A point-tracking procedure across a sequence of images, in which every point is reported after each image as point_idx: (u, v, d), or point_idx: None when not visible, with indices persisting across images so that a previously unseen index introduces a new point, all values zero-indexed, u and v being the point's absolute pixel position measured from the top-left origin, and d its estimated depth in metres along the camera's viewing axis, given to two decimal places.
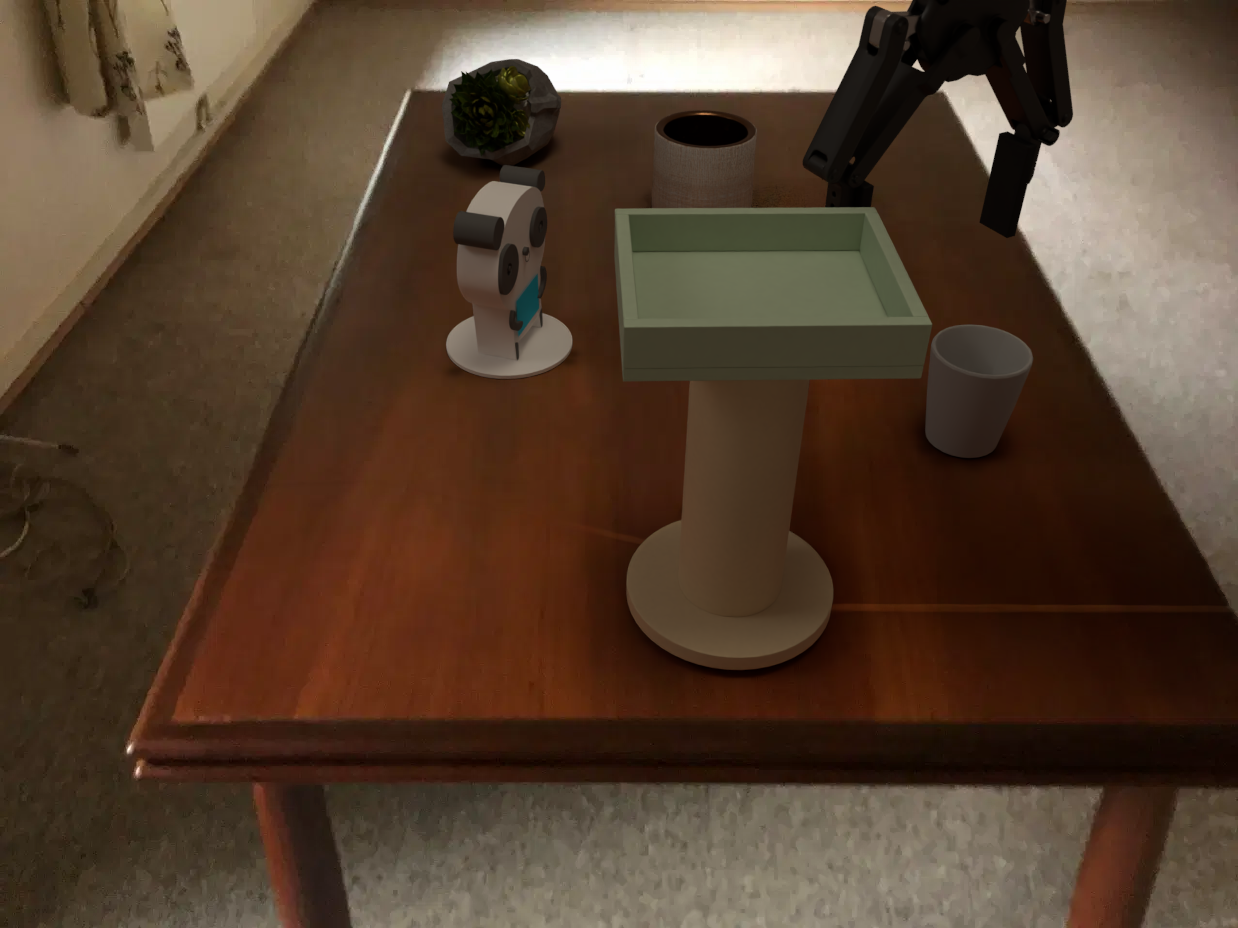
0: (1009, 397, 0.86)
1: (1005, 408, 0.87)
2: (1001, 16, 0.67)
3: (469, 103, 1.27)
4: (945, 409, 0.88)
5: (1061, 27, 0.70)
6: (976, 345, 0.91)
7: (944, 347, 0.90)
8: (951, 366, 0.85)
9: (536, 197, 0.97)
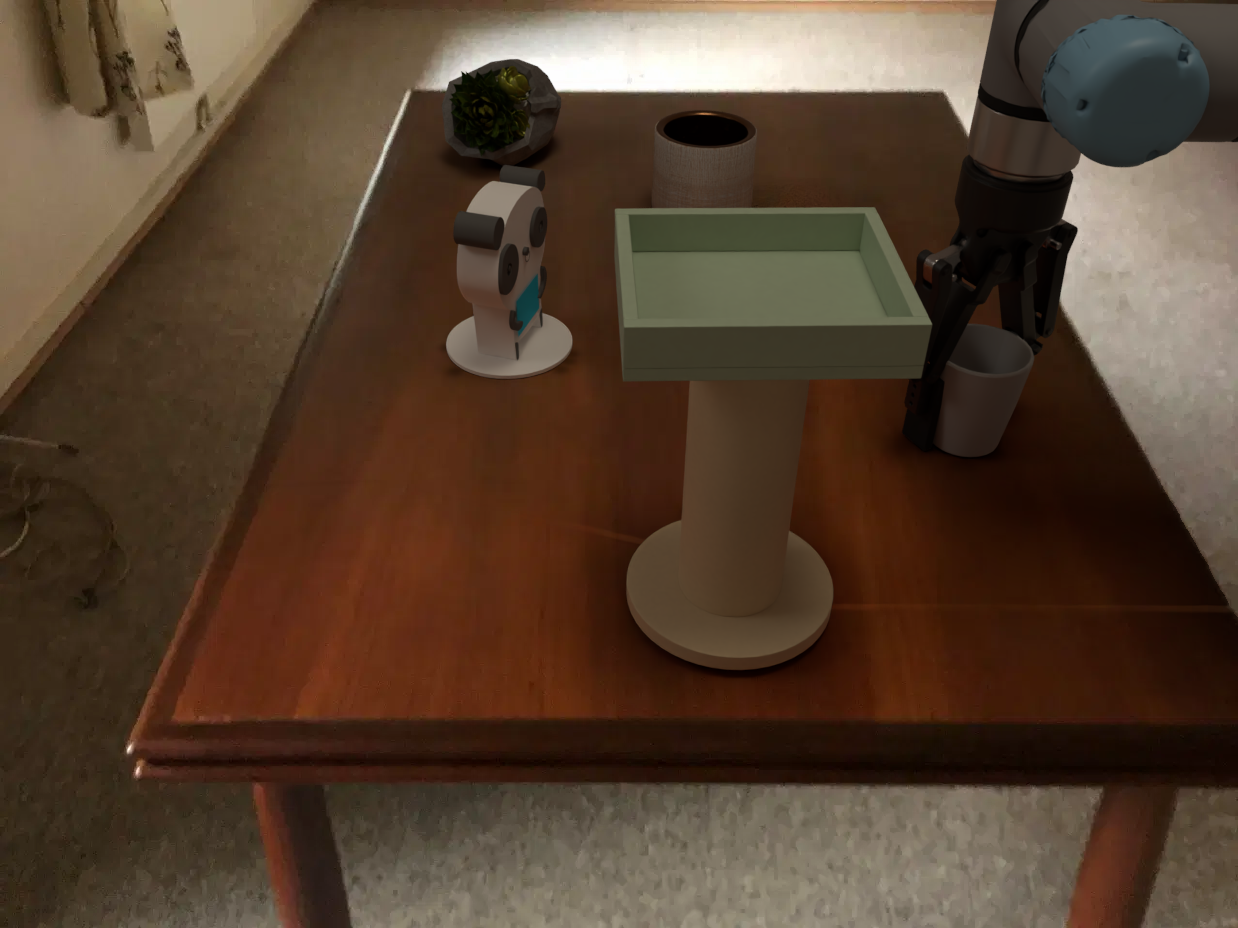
0: (1010, 396, 0.86)
1: (1006, 407, 0.87)
2: (1028, 239, 0.83)
3: (469, 103, 1.27)
4: (946, 408, 0.88)
5: (1066, 256, 0.86)
6: (977, 345, 0.91)
7: None
8: (952, 365, 0.85)
9: (536, 197, 0.97)
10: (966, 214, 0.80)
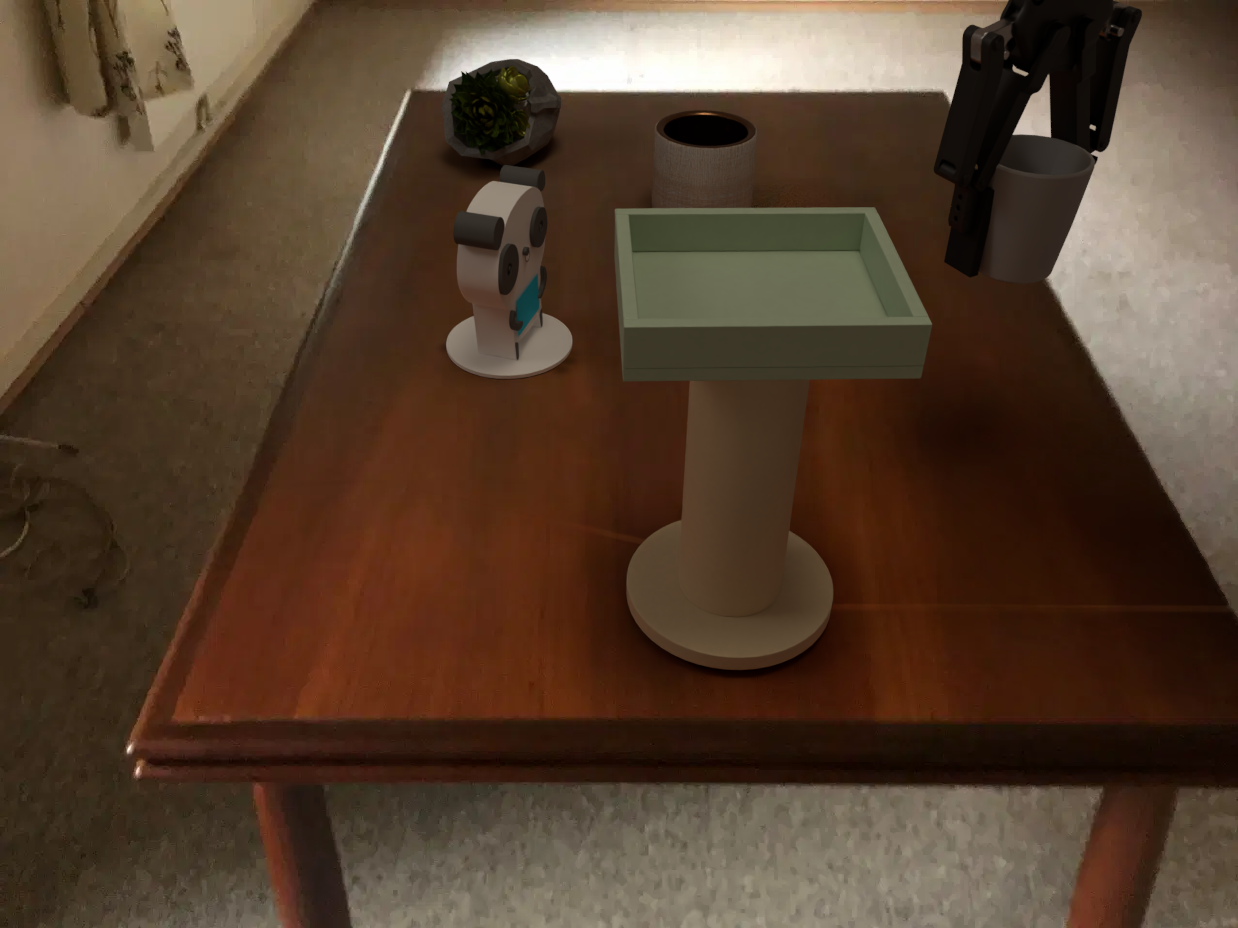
0: (1069, 205, 0.77)
1: (1064, 219, 0.77)
2: (1088, 16, 0.73)
3: (469, 103, 1.27)
4: (996, 223, 0.78)
5: (1127, 48, 0.76)
6: (1028, 159, 0.81)
7: None
8: (1004, 168, 0.76)
9: (536, 197, 0.97)
10: None
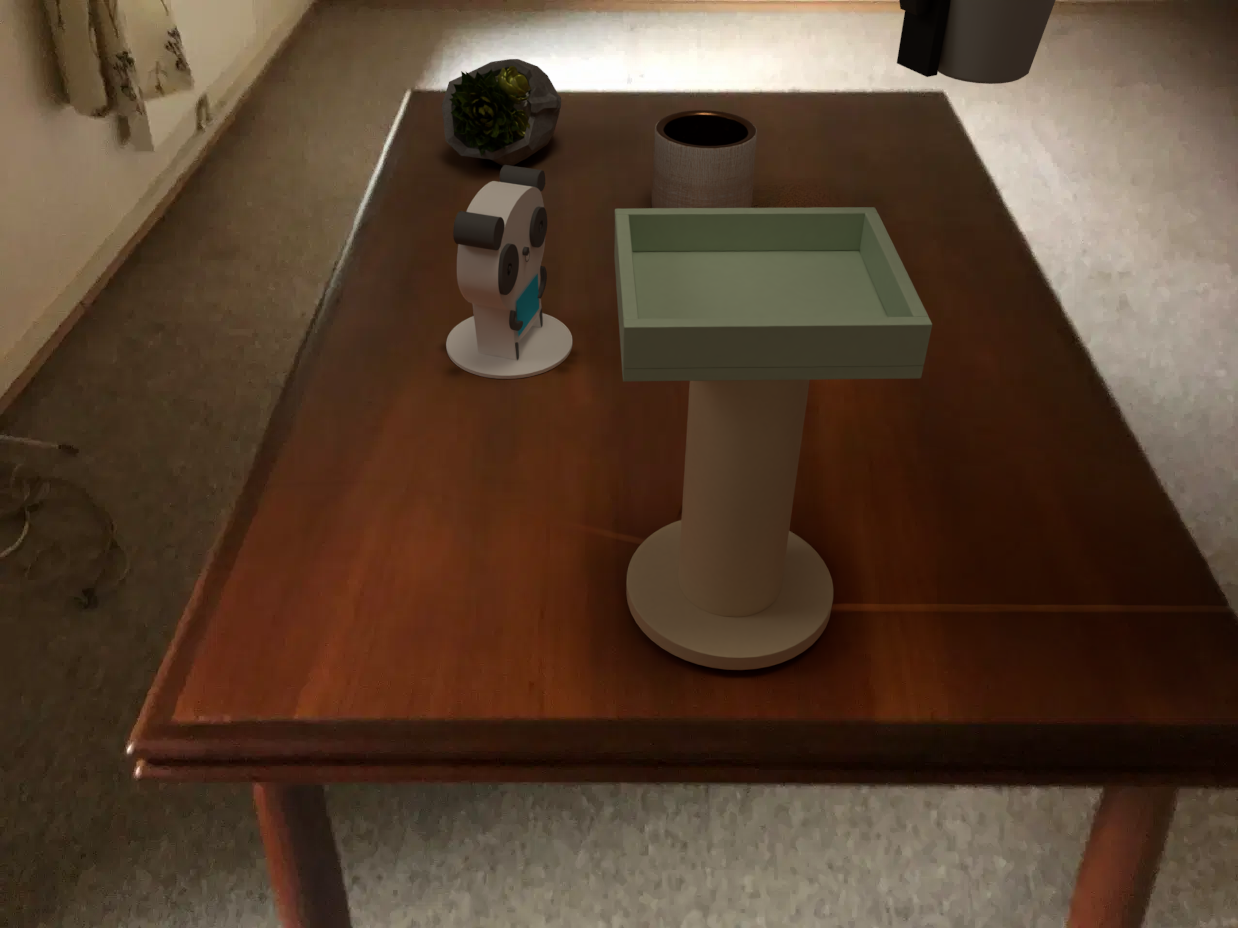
0: None
1: None
2: None
3: (469, 103, 1.27)
4: (958, 1, 0.63)
5: None
6: None
7: None
8: None
9: (536, 197, 0.97)
10: None
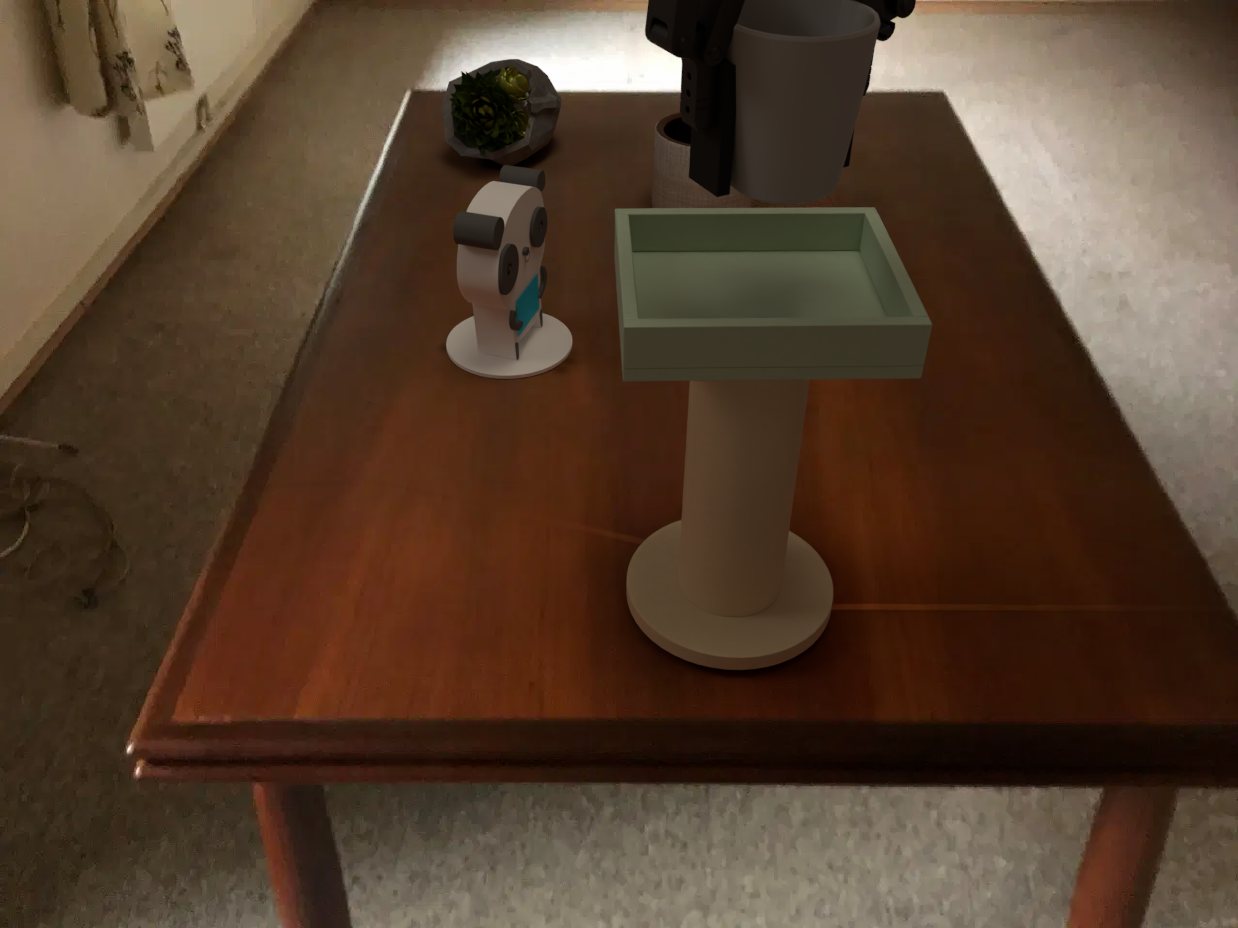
0: (841, 84, 0.53)
1: (837, 107, 0.53)
2: None
3: (469, 103, 1.27)
4: (743, 115, 0.54)
5: None
6: (801, 28, 0.57)
7: (747, 28, 0.56)
8: (742, 29, 0.52)
9: (536, 197, 0.97)
10: None
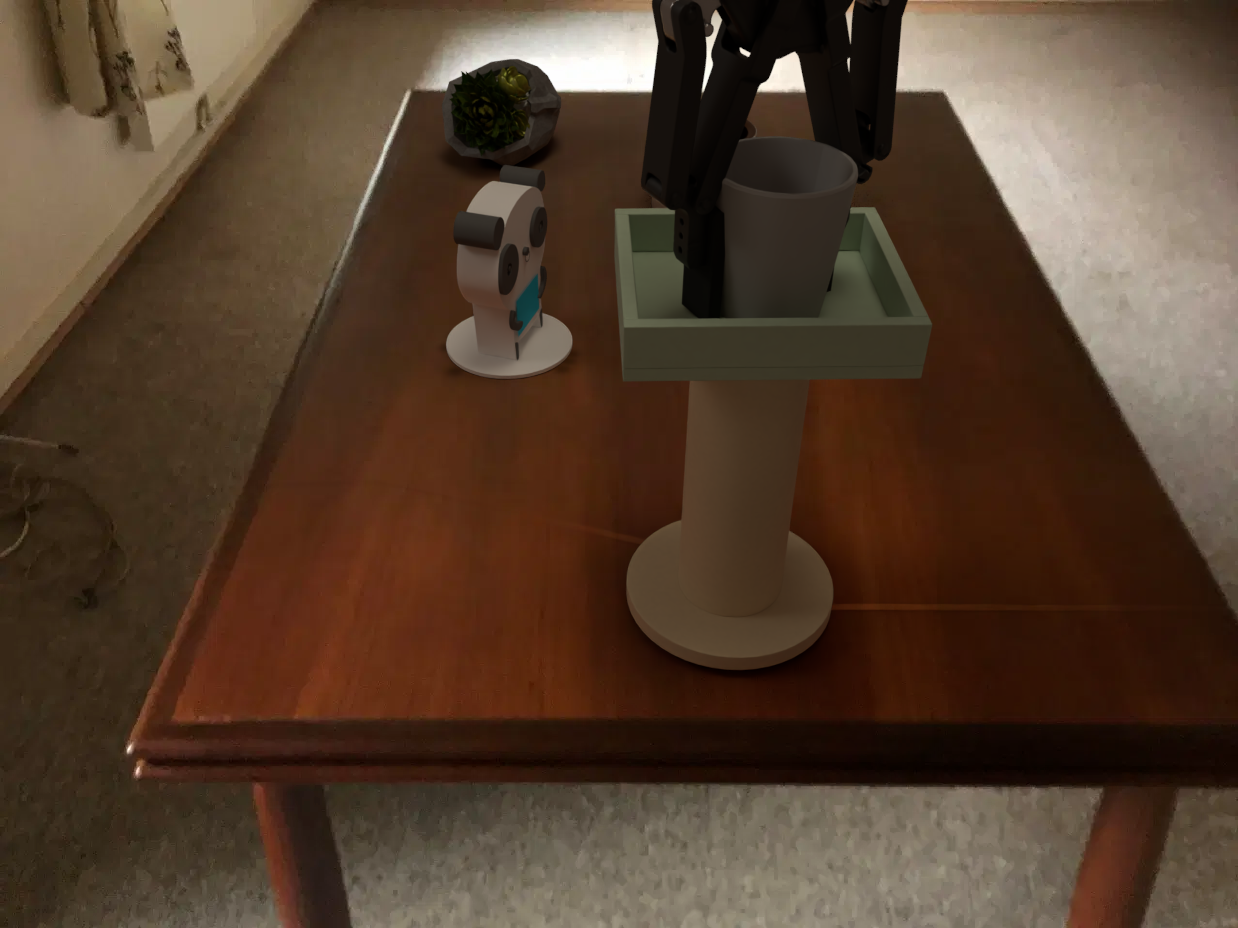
0: (821, 233, 0.57)
1: (818, 251, 0.58)
2: None
3: (469, 103, 1.27)
4: (731, 256, 0.59)
5: (899, 21, 0.57)
6: (786, 169, 0.62)
7: (736, 170, 0.61)
8: (730, 184, 0.56)
9: (536, 197, 0.97)
10: None
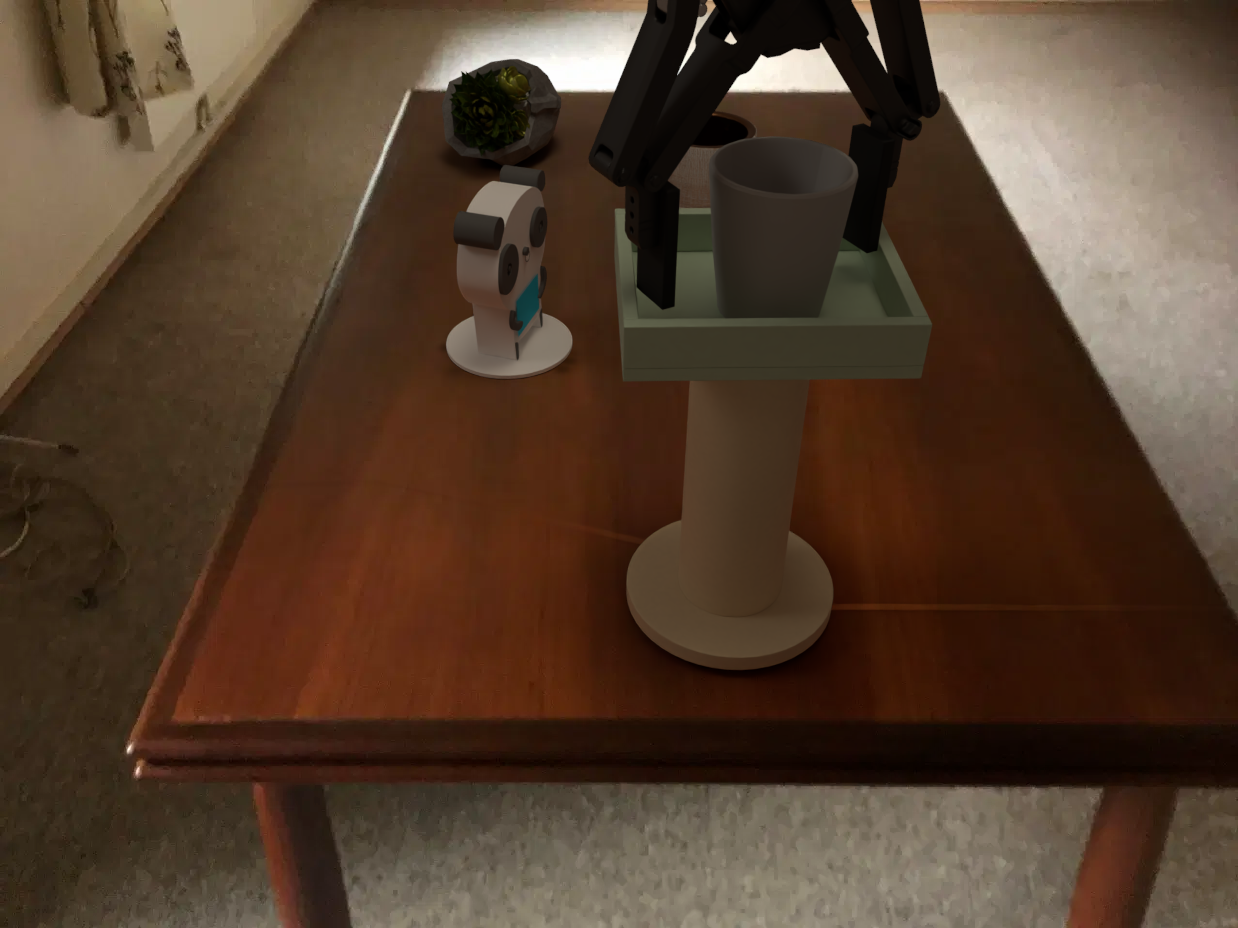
0: (821, 233, 0.57)
1: (818, 252, 0.58)
2: None
3: (469, 103, 1.27)
4: (731, 256, 0.59)
5: None
6: (786, 169, 0.62)
7: (736, 170, 0.61)
8: (730, 184, 0.56)
9: (536, 197, 0.97)
10: None
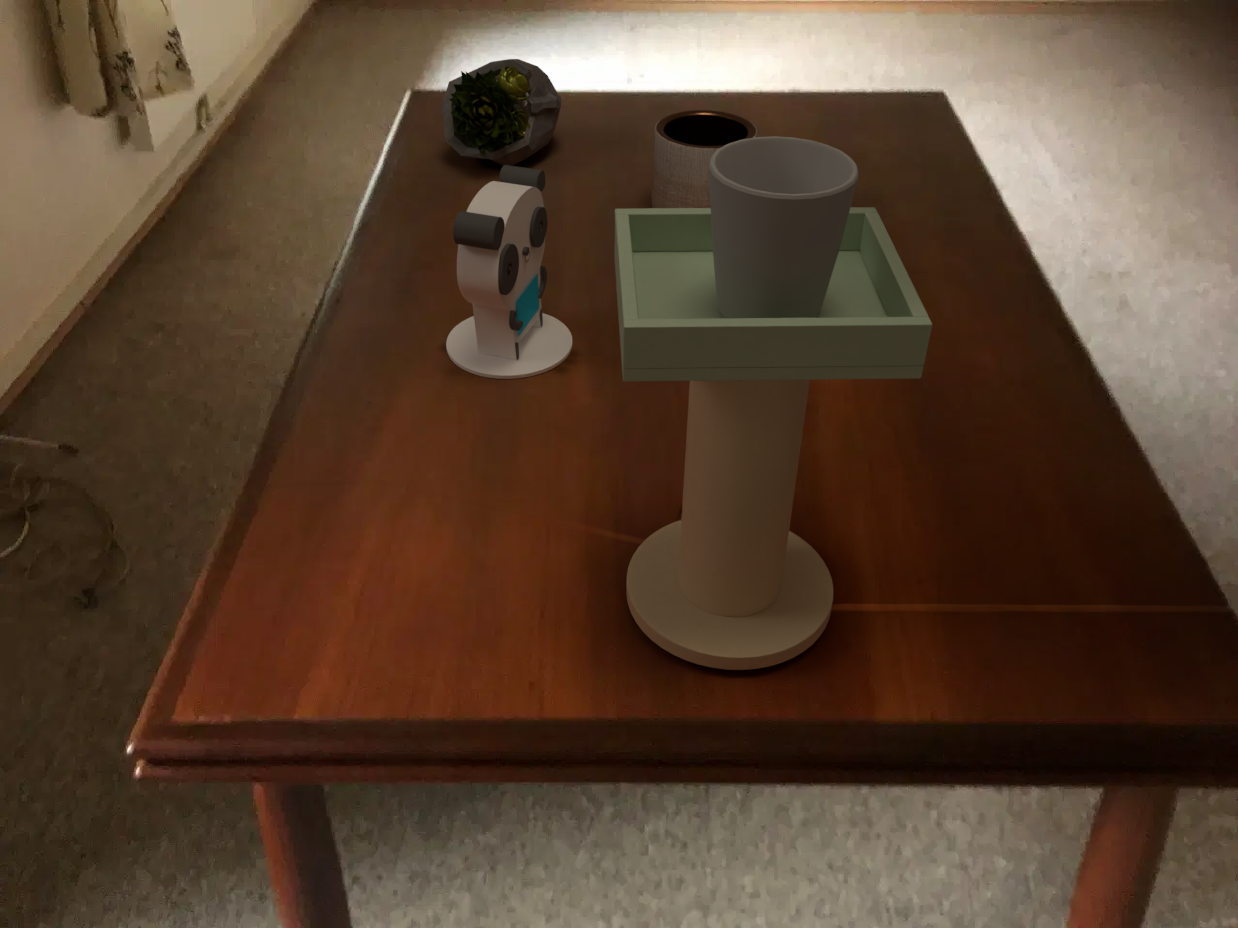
0: (821, 233, 0.57)
1: (818, 252, 0.58)
2: None
3: (469, 103, 1.27)
4: (731, 256, 0.59)
5: None
6: (786, 169, 0.62)
7: (736, 170, 0.61)
8: (730, 184, 0.56)
9: (536, 197, 0.97)
10: None
